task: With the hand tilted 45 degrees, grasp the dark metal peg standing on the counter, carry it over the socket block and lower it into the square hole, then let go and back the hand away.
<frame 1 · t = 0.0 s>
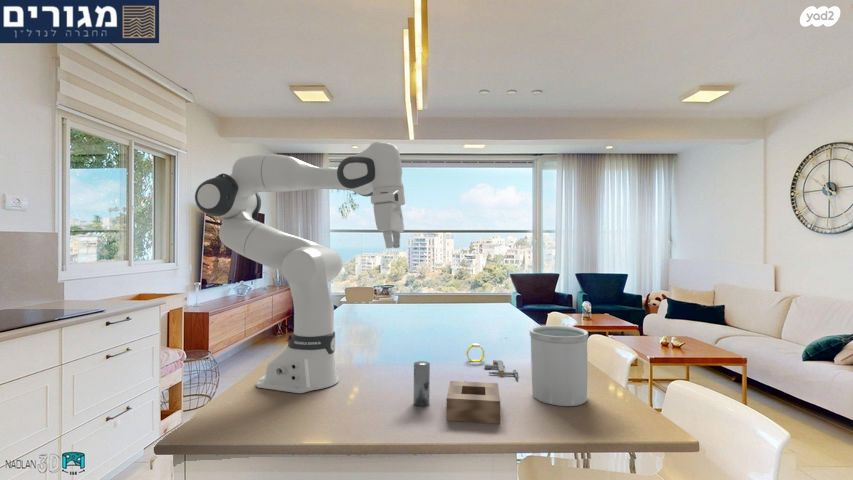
hand: (393, 248, 115), 39 cm above the table, tool pointing down, fingers open, 8 cm apart
utensil holder: (558, 397, 108), on the table
clamp: (500, 374, 128), on the table
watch: (475, 361, 140), on the table
socket: (473, 411, 98), on the table
peg: (421, 403, 102), on the table
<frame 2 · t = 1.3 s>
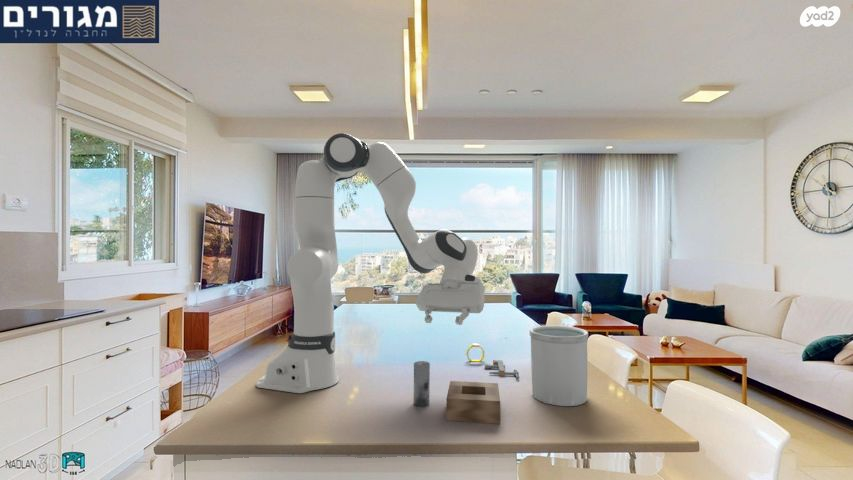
hand: (442, 322, 113), 18 cm above the table, tool tilted 45°, fingers open, 8 cm apart
nothing on the table moved.
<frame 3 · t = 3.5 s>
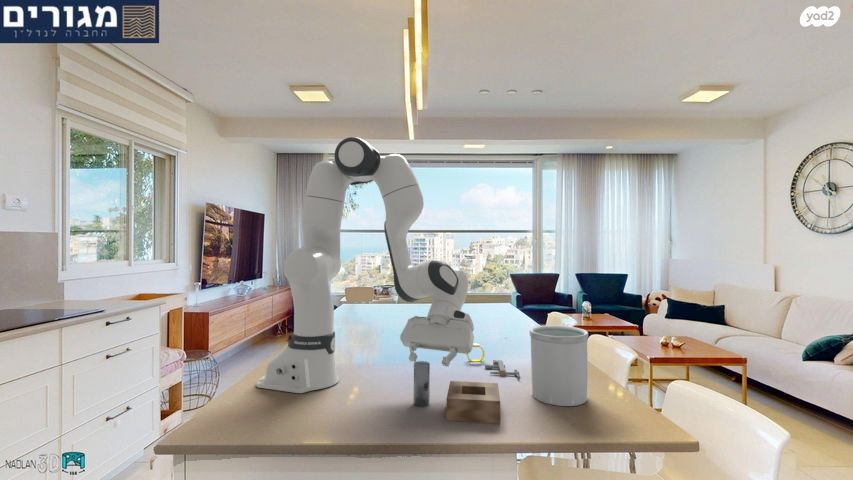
hand: (428, 362, 106), 9 cm above the table, tool tilted 45°, fingers open, 8 cm apart
nothing on the table moved.
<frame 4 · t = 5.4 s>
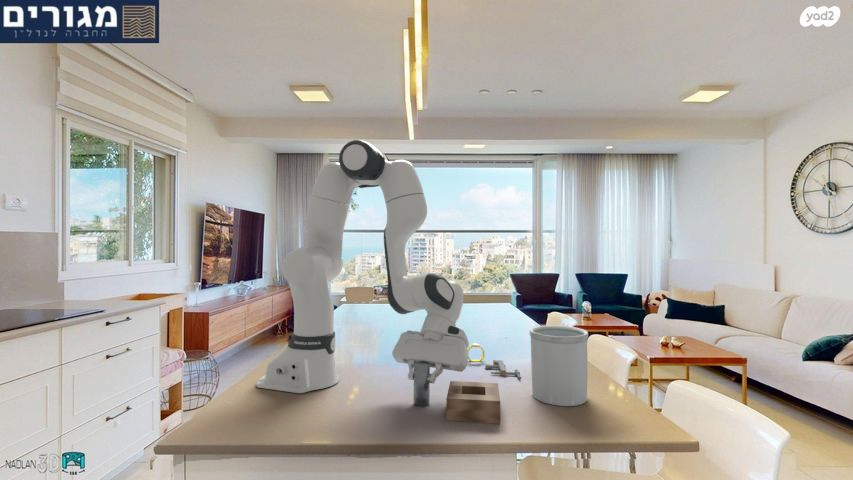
hand: (420, 380, 102), 6 cm above the table, tool tilted 45°, fingers closed on peg, 4 cm apart
peg: (421, 403, 102), on the table, touching gripper
everything else where it was.
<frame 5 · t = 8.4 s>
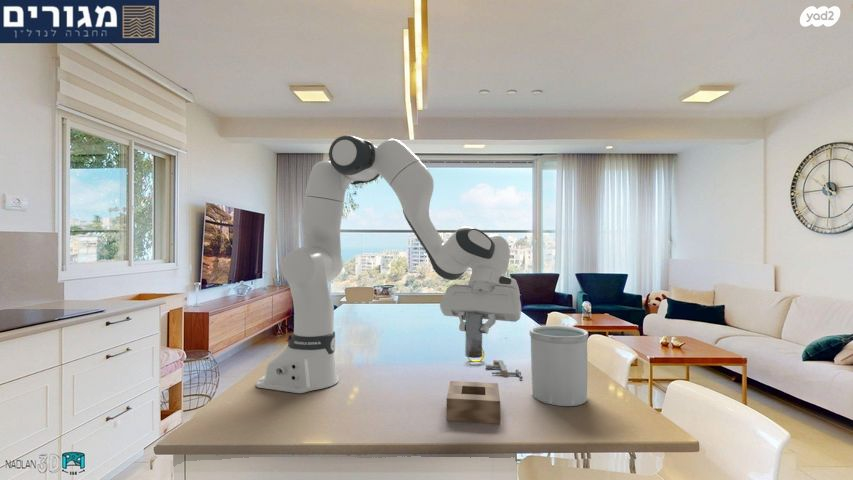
hand: (473, 331, 97), 19 cm above the table, tool tilted 45°, fingers closed on peg, 4 cm apart
peg: (473, 355, 98), point 13 cm above the table, touching gripper
everything else where it was.
when the fingers open (7 cm above the table, at t = 11.5 s): peg drops 1 cm, resting in socket.
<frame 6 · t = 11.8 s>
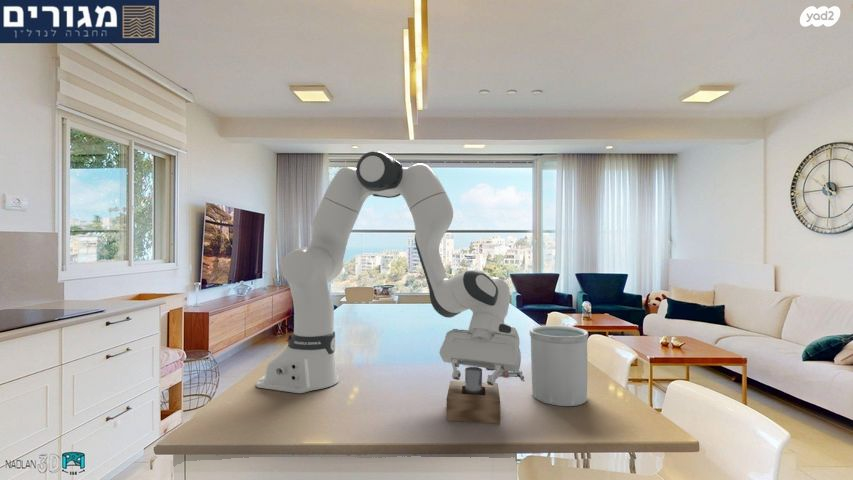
hand: (472, 381, 97), 7 cm above the table, tool tilted 45°, fingers open, 7 cm apart
peg: (473, 411, 98), resting in socket
everything else where it was.
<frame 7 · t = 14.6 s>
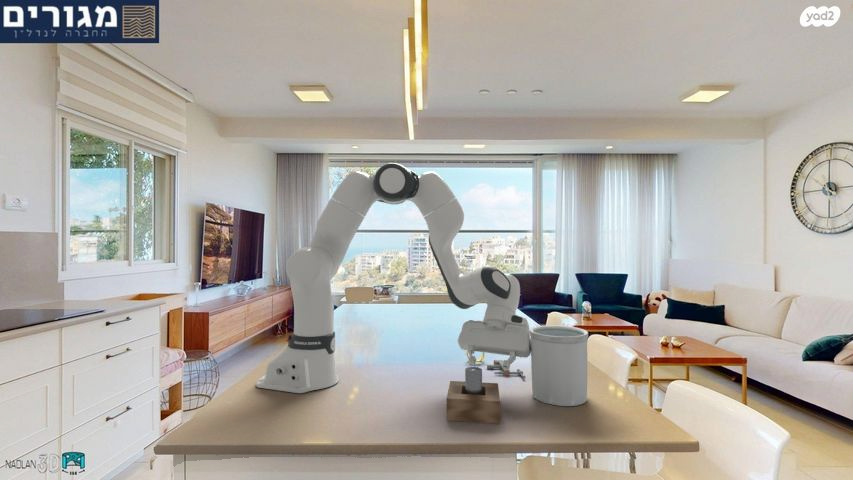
hand: (488, 365, 109), 8 cm above the table, tool tilted 45°, fingers open, 8 cm apart
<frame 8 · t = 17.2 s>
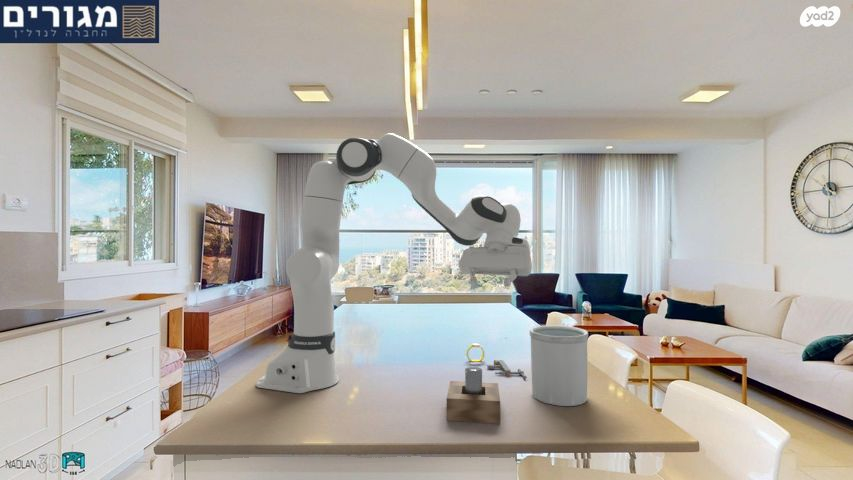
hand: (489, 284, 109), 29 cm above the table, tool tilted 45°, fingers open, 8 cm apart
at the end: peg 0.0 cm off-centre on the socket, point 0.0 cm above the socket's base; peg tilted 0°; the gripper is holding nothing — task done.
